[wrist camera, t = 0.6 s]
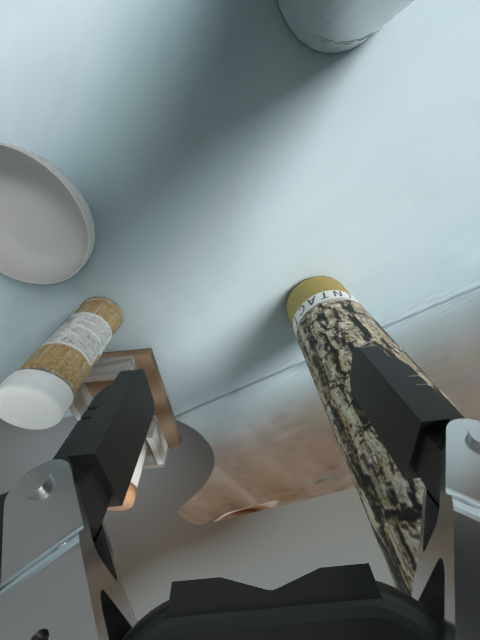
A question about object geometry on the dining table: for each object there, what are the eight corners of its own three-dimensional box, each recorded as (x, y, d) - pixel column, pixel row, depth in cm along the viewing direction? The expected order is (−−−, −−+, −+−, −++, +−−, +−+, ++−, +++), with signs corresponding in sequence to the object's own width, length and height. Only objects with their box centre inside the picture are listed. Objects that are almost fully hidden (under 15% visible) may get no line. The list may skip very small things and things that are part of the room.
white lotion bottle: (115, 426, 38) (87, 494, 30) (146, 424, 38) (126, 491, 30) (125, 445, 40) (101, 512, 33) (154, 442, 40) (138, 508, 32)
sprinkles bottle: (98, 334, 31) (22, 438, 19) (72, 303, 28) (-32, 400, 17) (132, 322, 30) (74, 423, 19) (108, 289, 28) (26, 380, 16)
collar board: (55, 357, 32) (33, 381, 28) (151, 348, 32) (141, 371, 28) (108, 446, 42) (98, 473, 39) (181, 440, 42) (177, 465, 39)
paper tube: (352, 308, 30) (646, 655, 9) (299, 335, 32) (445, 679, 11) (331, 261, 27) (709, 626, 6) (274, 293, 29) (410, 667, 8)
